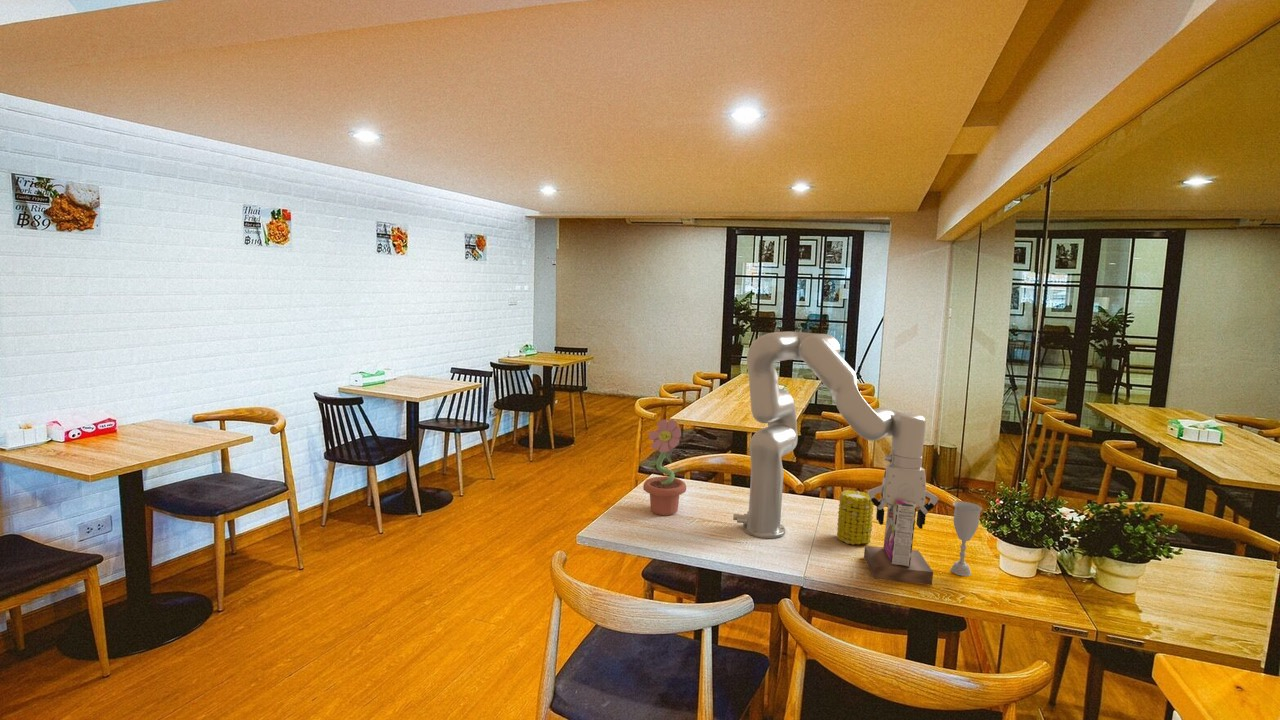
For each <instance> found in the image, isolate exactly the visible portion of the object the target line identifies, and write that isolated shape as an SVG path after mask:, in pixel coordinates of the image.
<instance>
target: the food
mask: <svg viewBox="0 0 1280 720" xmlns="http://www.w3.org/2000/svg"><path fill="white" fill-rule="evenodd" d="M839 495H840V496H839V504H838V511H837V513H838V515H837V516H838V517H837V525H836V526H837V528H836V529H837V531H836V532H837V533H836V536H837V539H838V540H840V541H841V542H844V543H845V544H846V545H849V544H851V545H852V546H854V545H861V544H869V543H870V542H871V538H872V537H871V535H872V531H873V529H872V527H873V524H872V523H873V518H874V517H873V514H874V513H873V511H874V504H873V502H872V501H871V499H870V497H869V494H868V492H865V491H859V490H850V489H844V490H843V491H841V492H840V494H839Z"/></svg>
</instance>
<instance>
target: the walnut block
mask: <svg viewBox="0 0 1280 720" xmlns="http://www.w3.org/2000/svg"><path fill="white" fill-rule="evenodd" d="M863 551H864V553H863V559H864V558H865V559H864V561H865V563H866V565H867V567H868V569H869V572H870V574H871V576H872V578H873V580H879V581H880V580H881V581H891V582H901V583H910V584H912V583H913V584H920V585H928V584H929V585H931V586H932V585H933V579H934V571H933V569H932V568H931V567H930V565H929V563H928V562H927V561H926V560H925V558H924V557H923V555H922V554H921V552H920V550H916V549H912V553H911V561H910V567H907V566H899V565H893V564H891V563H890V560H889V558H888V556H887V554H886V552H885V549H884V546H883V547H882V546H872V545H871V546H870V545H864V550H863Z"/></svg>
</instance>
